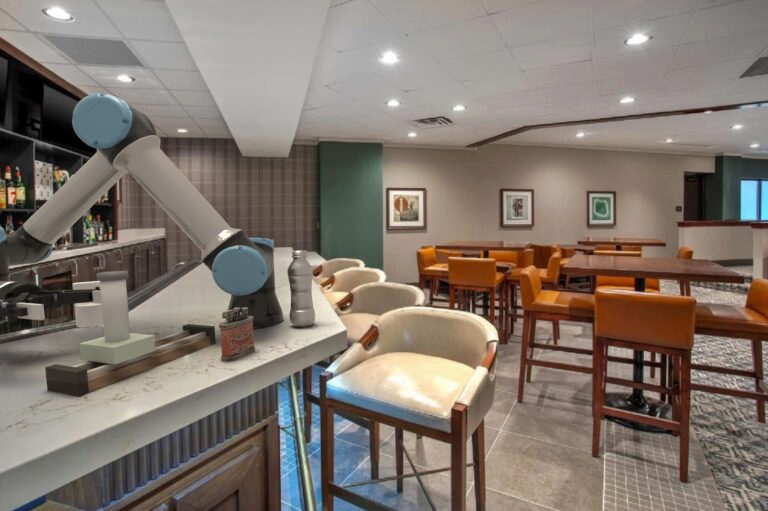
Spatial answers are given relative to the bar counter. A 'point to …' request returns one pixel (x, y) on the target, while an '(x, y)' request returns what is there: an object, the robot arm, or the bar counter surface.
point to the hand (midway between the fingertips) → (81, 304)
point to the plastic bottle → (301, 290)
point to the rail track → (127, 362)
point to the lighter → (236, 334)
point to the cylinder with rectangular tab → (88, 308)
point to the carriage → (115, 325)
